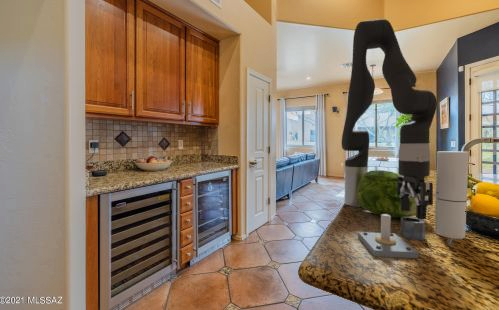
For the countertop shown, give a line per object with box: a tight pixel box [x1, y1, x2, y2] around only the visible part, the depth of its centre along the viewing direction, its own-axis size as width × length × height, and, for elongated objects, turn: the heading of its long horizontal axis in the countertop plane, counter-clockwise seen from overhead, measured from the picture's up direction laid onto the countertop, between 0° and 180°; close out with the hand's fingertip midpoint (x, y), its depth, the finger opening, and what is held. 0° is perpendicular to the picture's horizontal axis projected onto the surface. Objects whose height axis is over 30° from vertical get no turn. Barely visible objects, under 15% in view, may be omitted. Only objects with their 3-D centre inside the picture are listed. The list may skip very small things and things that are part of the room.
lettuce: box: [357, 169, 431, 219], centre depth 90 cm, size 17×23×17 cm
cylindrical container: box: [434, 150, 470, 240], centre depth 72 cm, size 7×7×25 cm
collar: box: [399, 216, 426, 241], centre depth 71 cm, size 6×6×5 cm
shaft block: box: [357, 214, 419, 259], centre depth 64 cm, size 12×10×8 cm
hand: (412, 214), depth 70 cm, fingers open, 8 cm apart
